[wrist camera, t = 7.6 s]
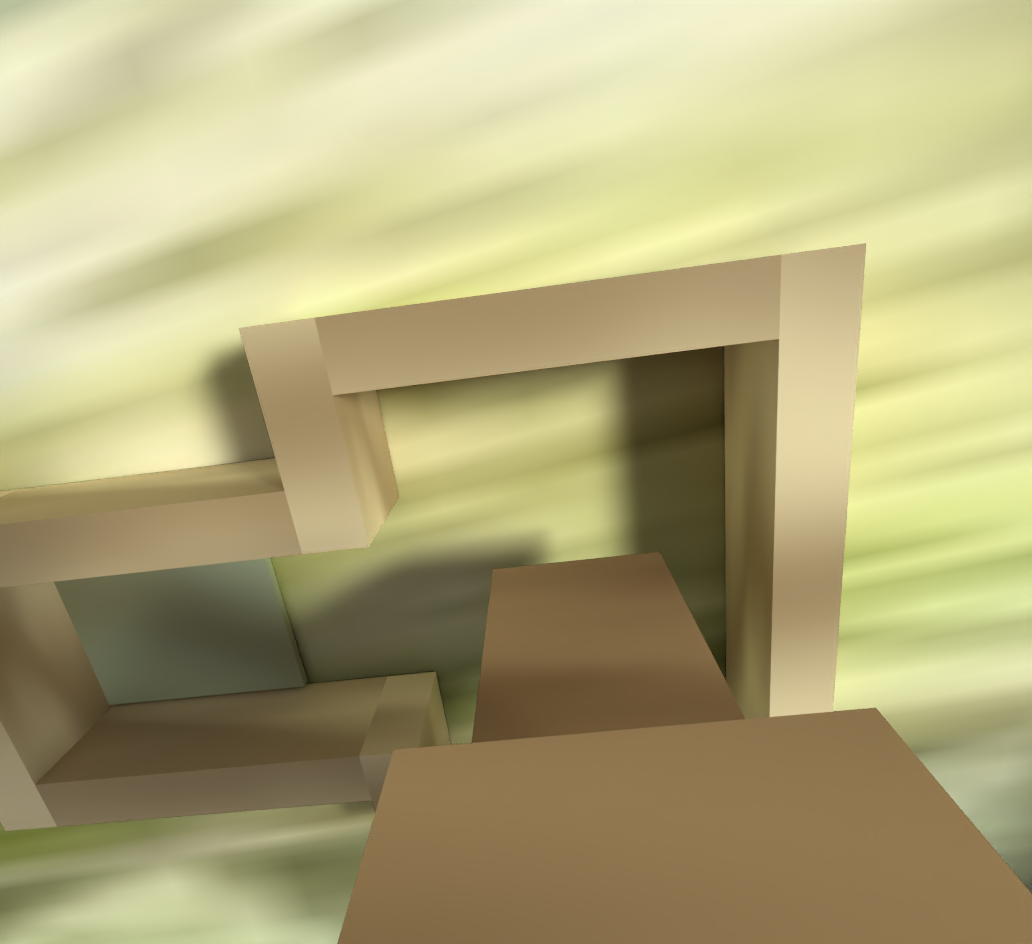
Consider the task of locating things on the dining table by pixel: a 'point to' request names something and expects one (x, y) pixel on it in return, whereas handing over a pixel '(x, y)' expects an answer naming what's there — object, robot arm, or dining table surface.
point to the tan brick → (661, 799)
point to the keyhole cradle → (357, 519)
